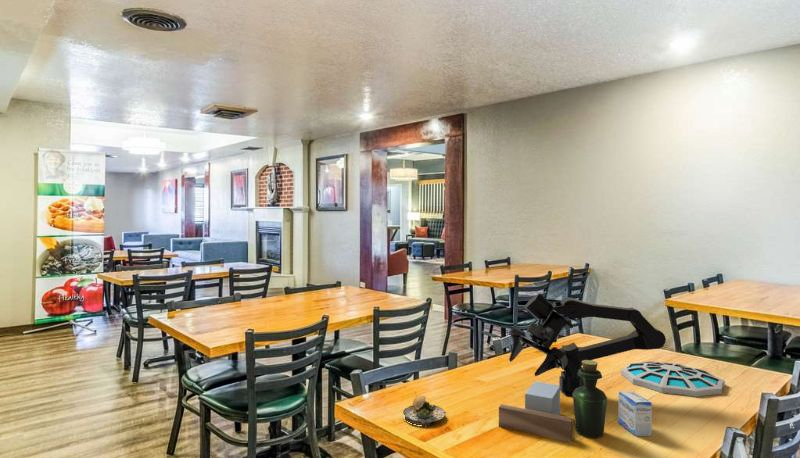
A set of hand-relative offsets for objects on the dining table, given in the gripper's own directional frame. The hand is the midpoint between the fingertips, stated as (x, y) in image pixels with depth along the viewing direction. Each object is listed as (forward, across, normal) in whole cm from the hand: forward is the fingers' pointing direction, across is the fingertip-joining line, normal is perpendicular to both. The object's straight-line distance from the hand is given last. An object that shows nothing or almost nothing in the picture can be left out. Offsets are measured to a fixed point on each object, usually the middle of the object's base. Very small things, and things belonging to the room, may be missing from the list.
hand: (522, 367), depth 138 cm
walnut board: (+16, +17, -7) cm, 24 cm away
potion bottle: (+7, +26, -2) cm, 27 cm away
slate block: (+10, +14, 0) cm, 17 cm away
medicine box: (-2, +32, +4) cm, 33 cm away
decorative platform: (-36, +25, +39) cm, 59 cm away
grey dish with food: (+31, -8, -12) cm, 35 cm away
